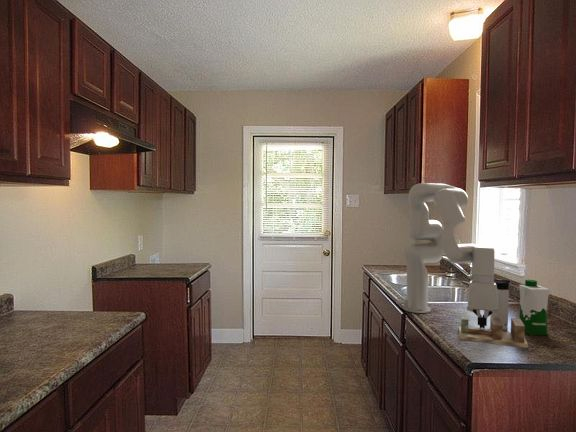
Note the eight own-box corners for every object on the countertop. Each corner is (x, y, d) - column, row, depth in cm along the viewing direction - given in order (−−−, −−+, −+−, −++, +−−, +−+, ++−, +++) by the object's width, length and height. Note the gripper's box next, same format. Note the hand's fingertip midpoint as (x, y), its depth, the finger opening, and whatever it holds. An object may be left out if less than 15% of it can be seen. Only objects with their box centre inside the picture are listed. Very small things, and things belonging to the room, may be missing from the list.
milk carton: (536, 328, 160) (538, 279, 159) (551, 335, 151) (553, 284, 150) (515, 328, 160) (516, 279, 159) (528, 335, 151) (530, 284, 150)
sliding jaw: (461, 334, 147) (461, 321, 146) (460, 326, 156) (461, 314, 156) (501, 339, 142) (502, 325, 141) (498, 331, 151) (499, 318, 151)
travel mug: (510, 332, 154) (512, 281, 153) (492, 331, 155) (494, 281, 155) (505, 327, 160) (507, 278, 160) (488, 326, 162) (489, 278, 161)
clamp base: (459, 338, 146) (460, 319, 146) (459, 329, 157) (459, 311, 157) (527, 347, 138) (528, 327, 137) (522, 337, 149) (522, 318, 148)
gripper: (461, 279, 147) (460, 327, 148) (506, 282, 141) (505, 332, 142) (460, 276, 154) (460, 322, 154) (504, 278, 148) (503, 327, 149)
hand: (482, 327), depth 148 cm, fingers closed
